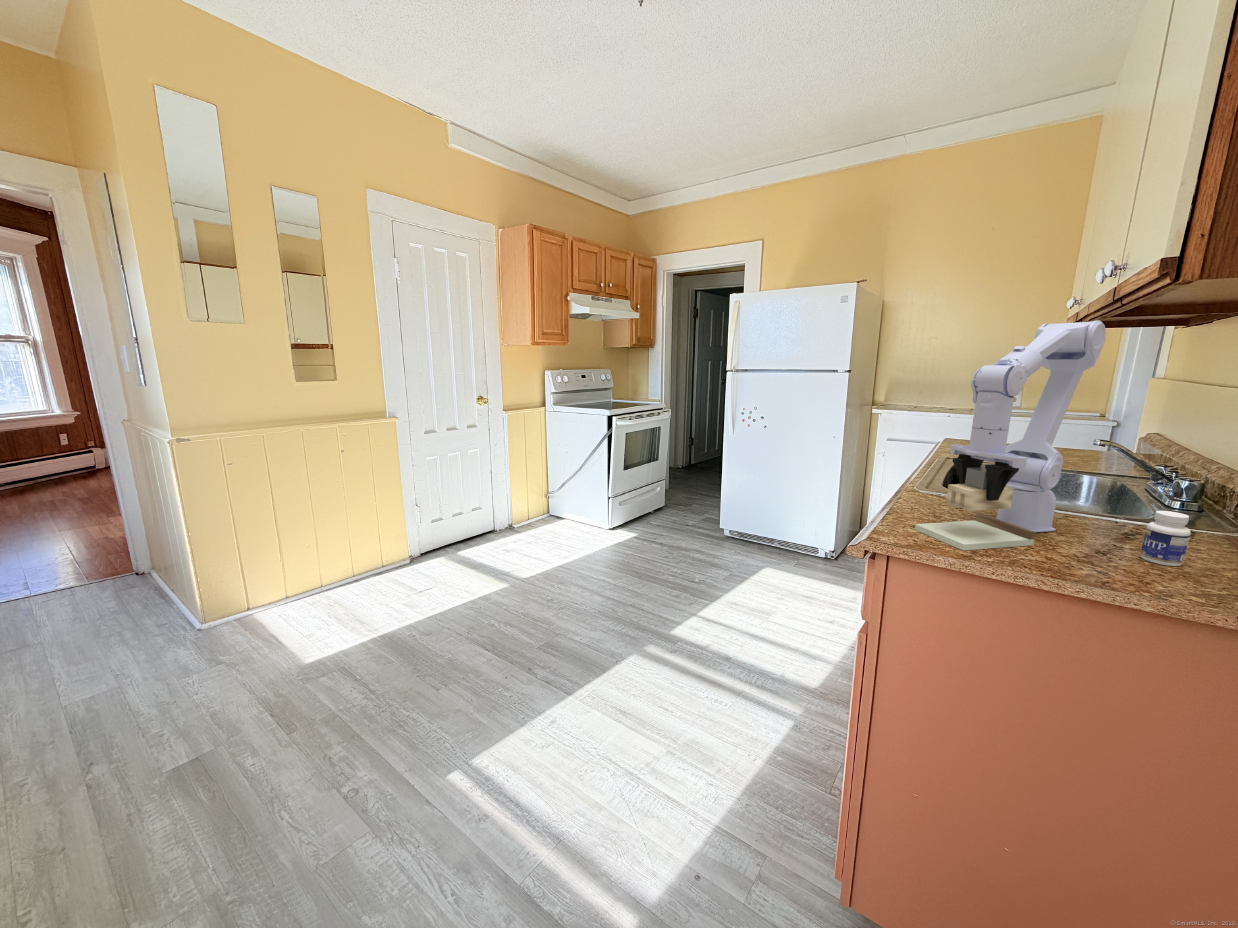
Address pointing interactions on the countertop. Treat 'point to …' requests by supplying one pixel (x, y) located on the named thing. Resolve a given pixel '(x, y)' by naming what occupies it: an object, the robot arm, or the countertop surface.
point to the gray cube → (976, 477)
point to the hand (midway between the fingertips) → (979, 496)
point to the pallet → (976, 498)
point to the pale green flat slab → (978, 533)
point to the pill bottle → (1166, 539)
